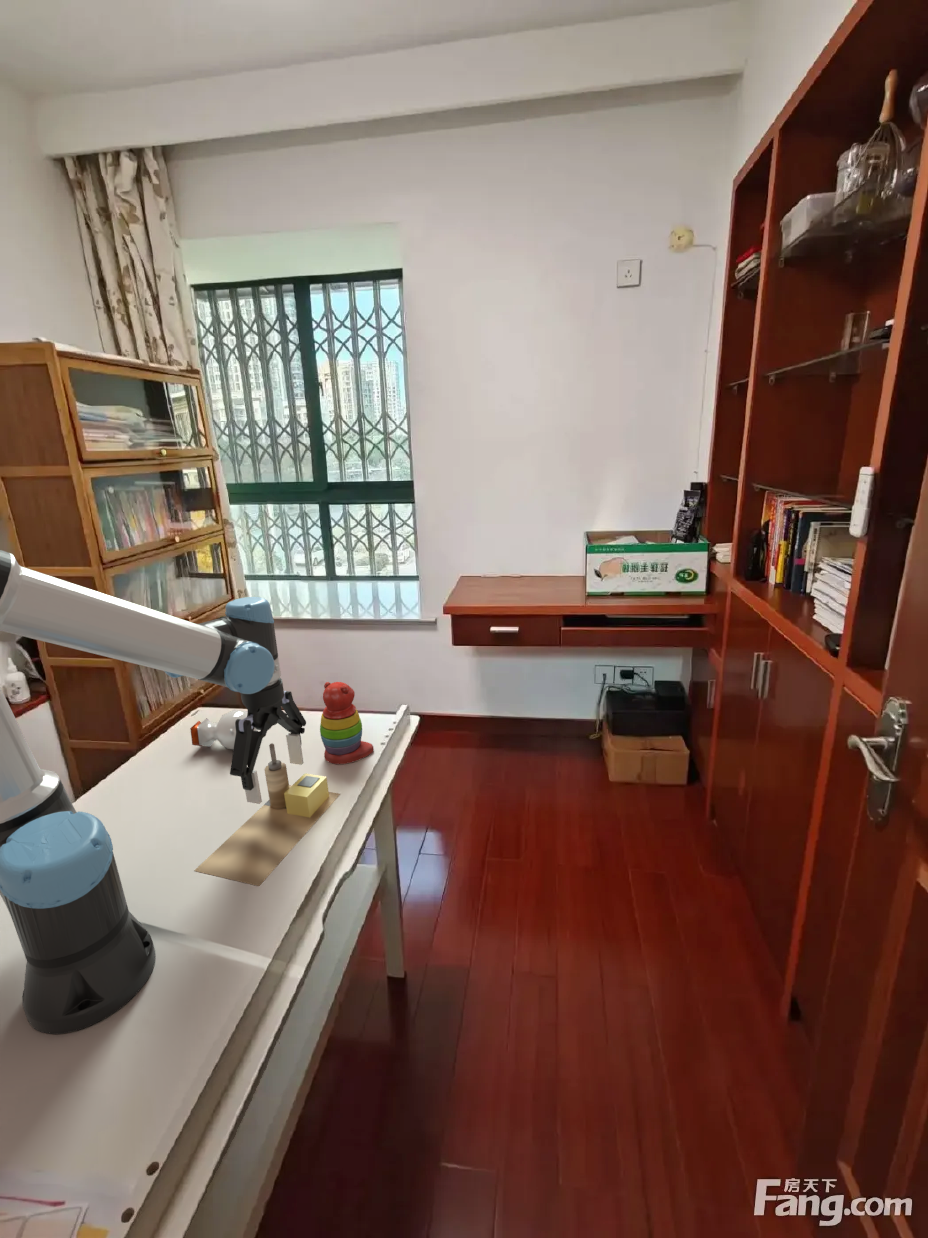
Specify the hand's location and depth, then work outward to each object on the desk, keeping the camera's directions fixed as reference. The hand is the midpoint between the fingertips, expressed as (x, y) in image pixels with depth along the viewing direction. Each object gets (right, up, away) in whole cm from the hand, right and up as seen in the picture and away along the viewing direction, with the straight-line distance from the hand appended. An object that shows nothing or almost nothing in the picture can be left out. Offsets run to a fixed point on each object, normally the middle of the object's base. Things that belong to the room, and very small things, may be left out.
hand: (276, 781), depth 113 cm
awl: (0, -5, +2) cm, 5 cm away
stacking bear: (+9, 0, +21) cm, 23 cm away
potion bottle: (-20, +1, +27) cm, 33 cm away
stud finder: (+6, -5, +1) cm, 8 cm away
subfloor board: (+1, -8, -6) cm, 10 cm away
